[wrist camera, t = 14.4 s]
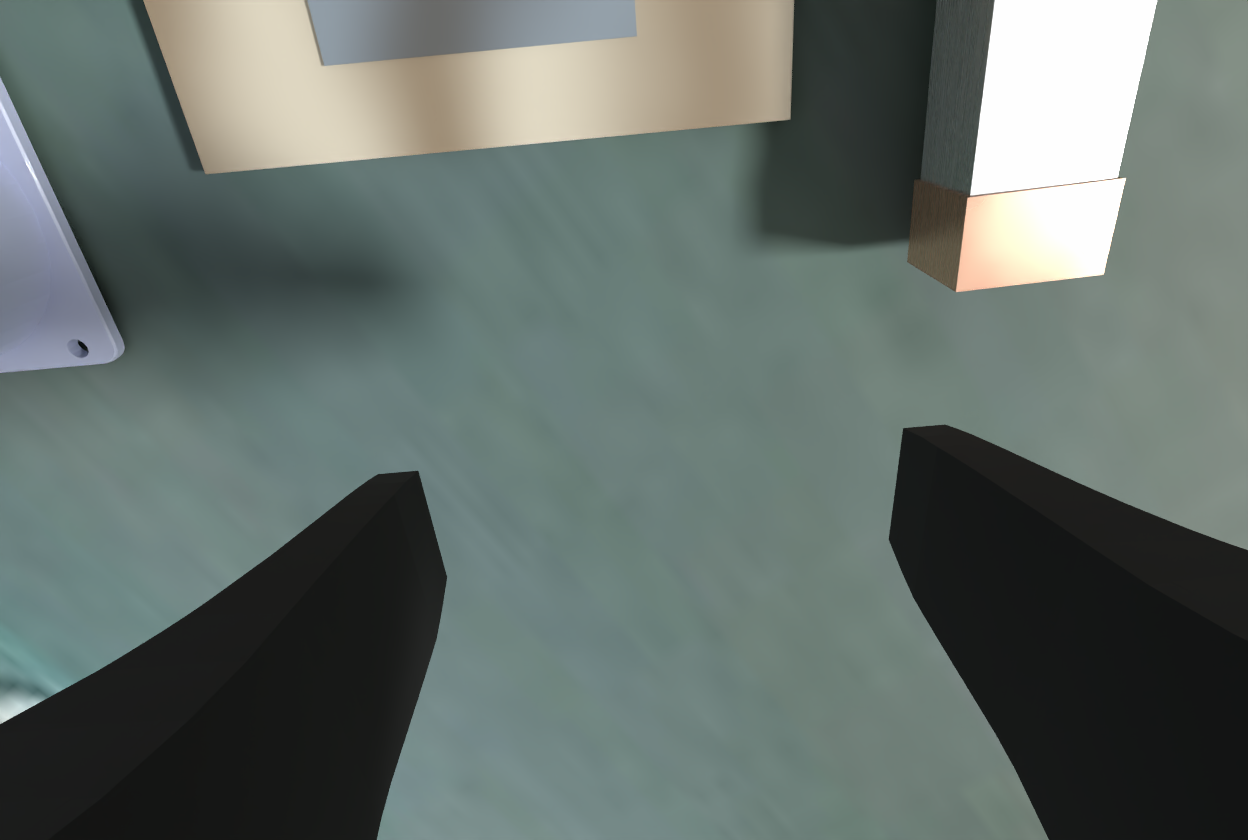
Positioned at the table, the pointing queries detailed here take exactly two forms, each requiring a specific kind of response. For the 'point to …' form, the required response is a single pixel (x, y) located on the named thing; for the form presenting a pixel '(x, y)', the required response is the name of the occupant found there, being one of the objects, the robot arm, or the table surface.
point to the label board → (463, 73)
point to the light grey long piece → (1025, 138)
